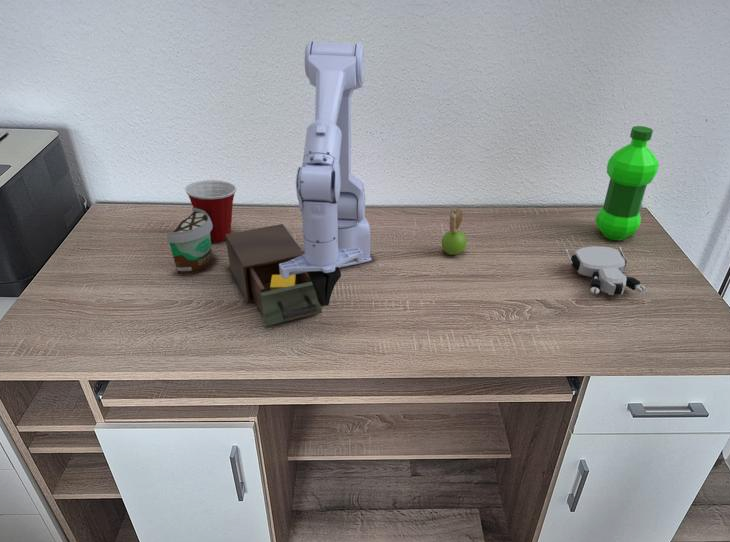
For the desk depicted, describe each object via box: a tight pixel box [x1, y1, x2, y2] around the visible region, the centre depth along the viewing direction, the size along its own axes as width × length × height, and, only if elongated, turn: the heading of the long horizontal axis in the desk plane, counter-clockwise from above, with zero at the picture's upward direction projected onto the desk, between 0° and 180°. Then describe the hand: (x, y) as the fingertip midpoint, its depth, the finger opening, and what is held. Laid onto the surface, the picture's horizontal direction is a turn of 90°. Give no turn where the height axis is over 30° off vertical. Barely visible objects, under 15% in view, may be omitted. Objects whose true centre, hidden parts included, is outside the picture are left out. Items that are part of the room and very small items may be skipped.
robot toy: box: [565, 245, 646, 296], centre depth 127 cm, size 12×4×15 cm
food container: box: [166, 207, 213, 275], centre depth 127 cm, size 12×6×10 cm, turn 168°
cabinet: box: [225, 223, 304, 304], centre depth 124 cm, size 14×12×8 cm
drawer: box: [247, 259, 323, 327], centre depth 115 cm, size 18×11×6 cm, turn 25°
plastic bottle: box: [595, 125, 660, 241], centre depth 138 cm, size 10×10×25 cm
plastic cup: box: [184, 179, 238, 244], centre depth 137 cm, size 11×11×12 cm
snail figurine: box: [440, 208, 468, 256], centre depth 133 cm, size 5×6×12 cm
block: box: [270, 275, 296, 291], centre depth 115 cm, size 4×4×4 cm
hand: (323, 302), depth 111 cm, fingers closed
